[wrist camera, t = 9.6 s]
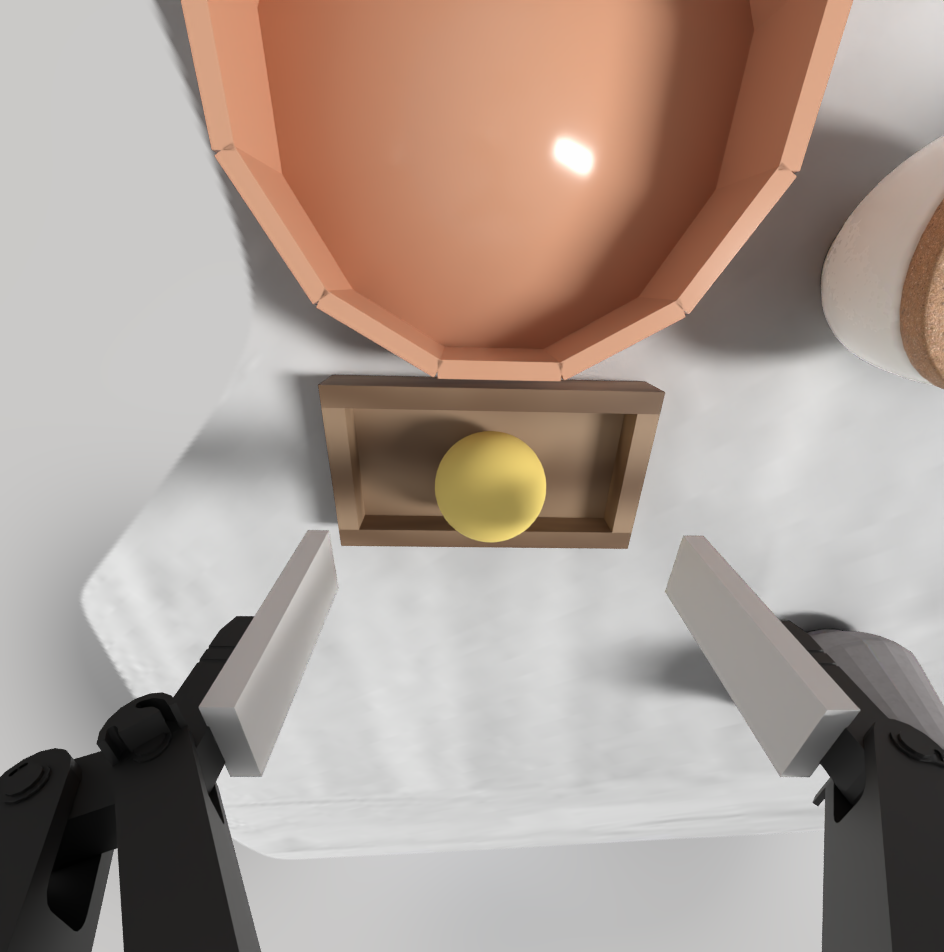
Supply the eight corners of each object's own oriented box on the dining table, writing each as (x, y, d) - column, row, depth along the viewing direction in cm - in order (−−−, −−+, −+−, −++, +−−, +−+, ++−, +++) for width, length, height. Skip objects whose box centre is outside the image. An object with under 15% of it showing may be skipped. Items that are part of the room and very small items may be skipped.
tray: (332, 374, 23) (318, 384, 20) (645, 381, 23) (665, 392, 21) (351, 523, 27) (341, 545, 25) (614, 526, 27) (627, 548, 25)
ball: (438, 415, 23) (428, 456, 17) (541, 417, 23) (563, 459, 18) (439, 505, 26) (431, 565, 20) (532, 506, 26) (549, 566, 20)
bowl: (203, -305, 13) (41, -669, 8) (825, -263, 14) (1034, -580, 9) (304, 354, 22) (258, 374, 17) (673, 362, 23) (732, 385, 18)
